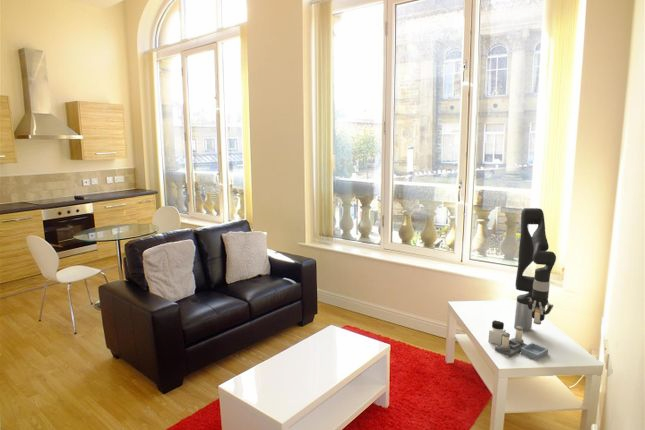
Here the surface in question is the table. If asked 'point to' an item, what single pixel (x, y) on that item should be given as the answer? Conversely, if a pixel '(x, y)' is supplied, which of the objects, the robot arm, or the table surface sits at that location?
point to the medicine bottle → (496, 332)
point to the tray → (534, 351)
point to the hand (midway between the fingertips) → (537, 319)
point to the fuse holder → (511, 343)
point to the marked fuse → (537, 316)
